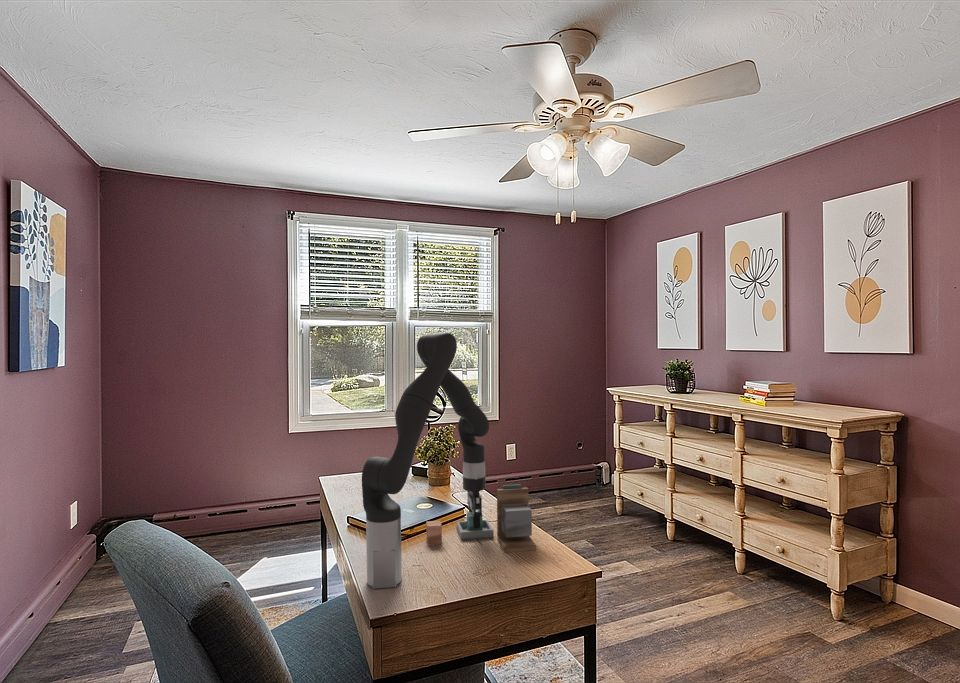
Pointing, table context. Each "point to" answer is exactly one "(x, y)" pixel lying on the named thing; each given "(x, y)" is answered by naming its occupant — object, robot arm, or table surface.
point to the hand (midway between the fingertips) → (474, 523)
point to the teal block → (470, 522)
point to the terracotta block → (433, 532)
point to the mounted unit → (514, 519)
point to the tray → (476, 534)
